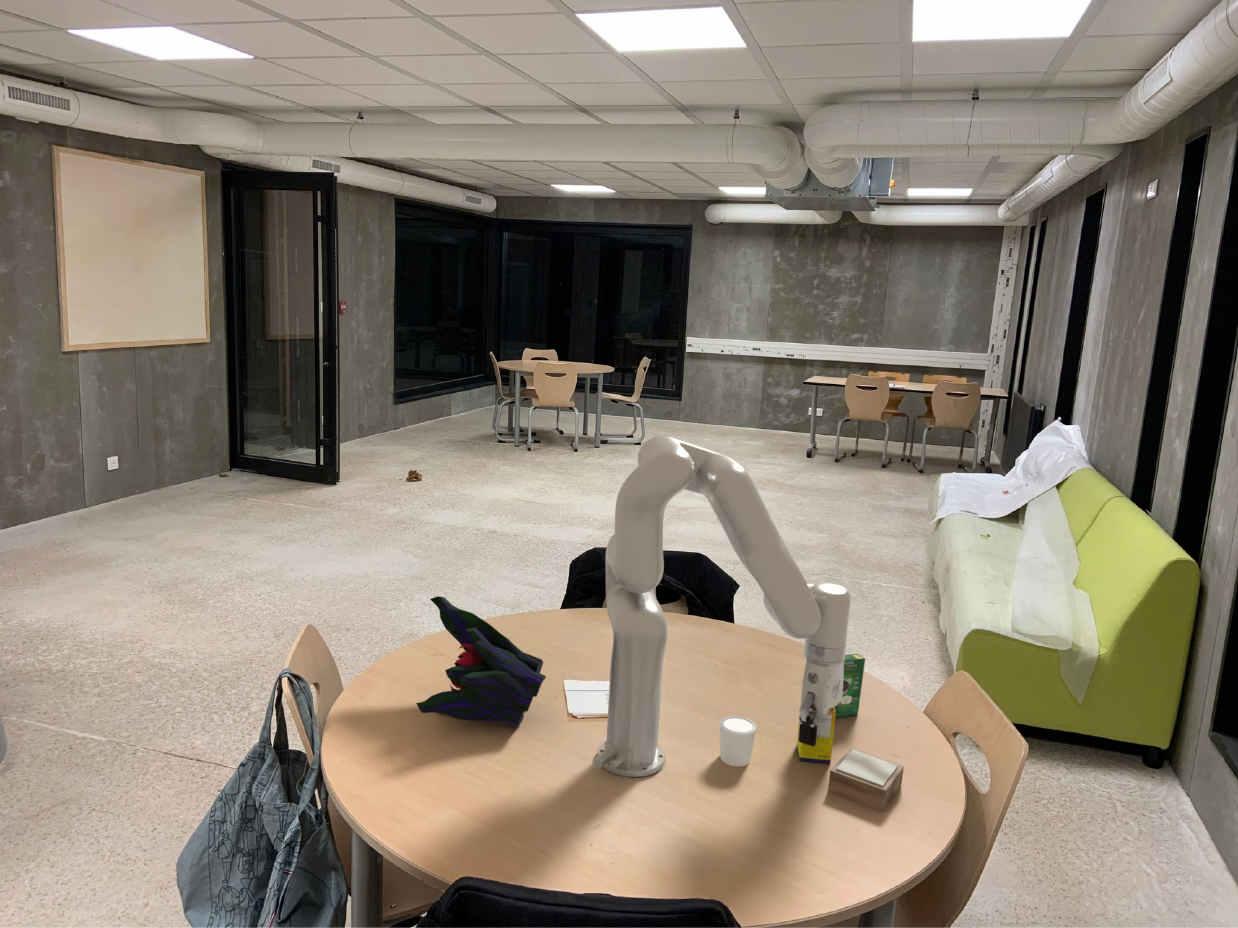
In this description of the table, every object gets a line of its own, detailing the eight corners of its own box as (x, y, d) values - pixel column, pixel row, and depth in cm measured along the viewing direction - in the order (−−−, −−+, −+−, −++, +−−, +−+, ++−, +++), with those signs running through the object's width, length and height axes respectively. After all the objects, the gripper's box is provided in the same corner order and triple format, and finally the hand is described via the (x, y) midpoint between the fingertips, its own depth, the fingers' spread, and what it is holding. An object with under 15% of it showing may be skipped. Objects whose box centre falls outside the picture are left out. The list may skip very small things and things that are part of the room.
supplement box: (826, 748, 172) (832, 696, 170) (830, 764, 166) (836, 711, 164) (795, 745, 172) (801, 693, 170) (798, 761, 166) (804, 707, 164)
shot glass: (725, 770, 162) (728, 735, 161) (711, 750, 169) (714, 717, 167) (759, 766, 164) (762, 731, 163) (744, 747, 170) (747, 714, 169)
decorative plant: (506, 778, 172) (367, 720, 176) (553, 679, 193) (428, 629, 196) (521, 716, 160) (371, 655, 163) (569, 618, 180) (435, 565, 183)
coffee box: (851, 709, 188) (858, 651, 186) (859, 715, 186) (866, 657, 183) (819, 713, 186) (825, 655, 183) (826, 720, 183) (833, 661, 180)
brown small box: (883, 811, 152) (886, 789, 151) (827, 790, 157) (830, 768, 156) (901, 786, 160) (904, 764, 159) (848, 767, 165) (850, 746, 164)
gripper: (826, 670, 156) (818, 758, 159) (860, 640, 170) (852, 721, 173) (786, 659, 160) (779, 745, 163) (823, 630, 174) (816, 710, 177)
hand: (817, 733), depth 168 cm, fingers open, 9 cm apart
